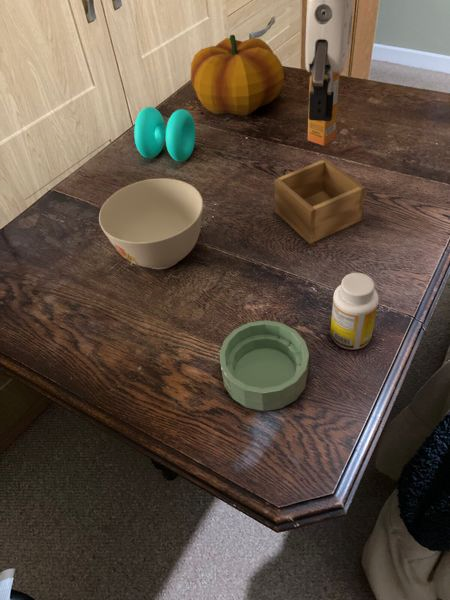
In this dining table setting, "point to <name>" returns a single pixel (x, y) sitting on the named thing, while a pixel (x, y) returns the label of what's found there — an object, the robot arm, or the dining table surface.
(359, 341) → the supplement bottle
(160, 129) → the turquoise yo-yo
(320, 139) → the supplement box
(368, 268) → the dining table surface
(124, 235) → the bowl
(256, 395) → the green bowl
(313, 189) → the wooden holder
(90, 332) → the dining table surface
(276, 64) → the decorative pumpkin
